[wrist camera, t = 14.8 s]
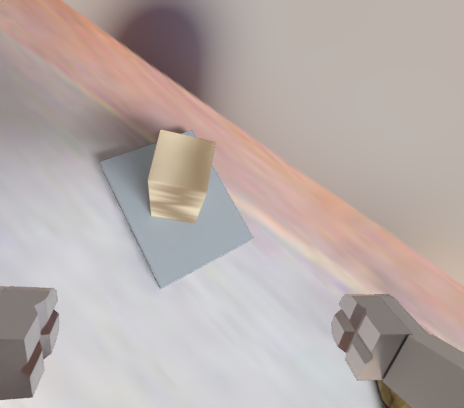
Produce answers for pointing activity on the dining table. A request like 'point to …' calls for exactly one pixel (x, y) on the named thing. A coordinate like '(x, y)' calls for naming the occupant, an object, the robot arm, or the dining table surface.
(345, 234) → the dining table surface
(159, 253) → the base plate
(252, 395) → the dining table surface
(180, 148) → the maple block
